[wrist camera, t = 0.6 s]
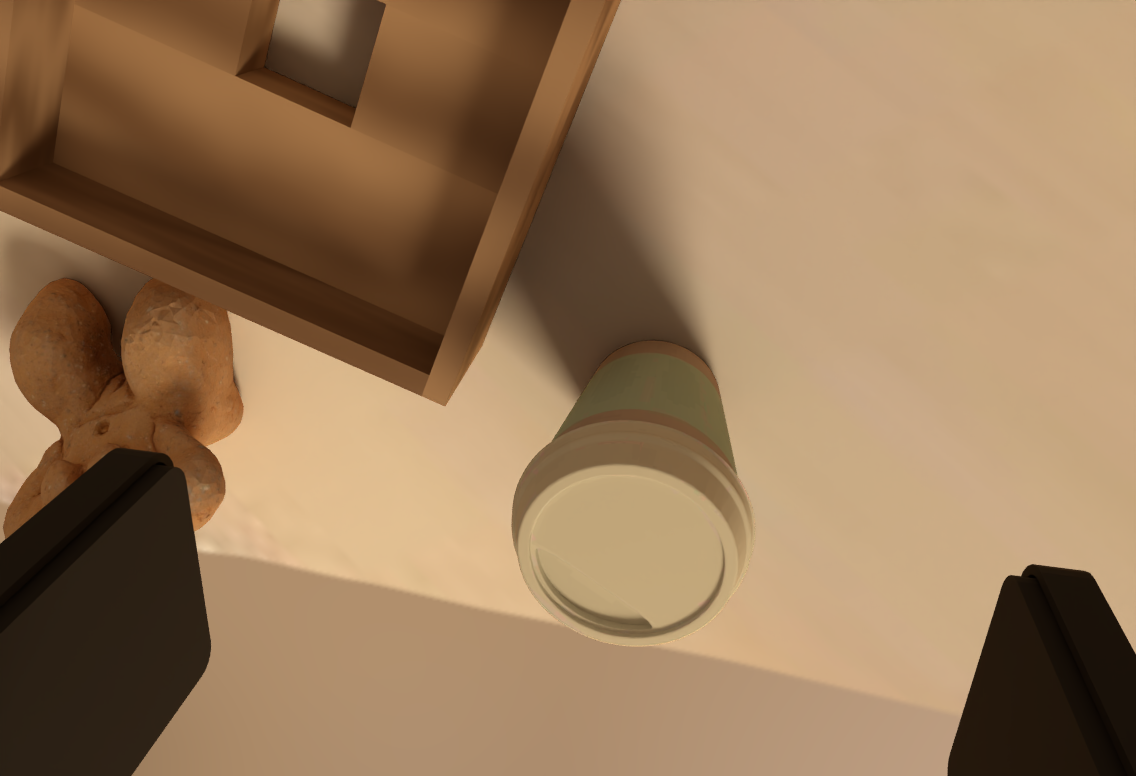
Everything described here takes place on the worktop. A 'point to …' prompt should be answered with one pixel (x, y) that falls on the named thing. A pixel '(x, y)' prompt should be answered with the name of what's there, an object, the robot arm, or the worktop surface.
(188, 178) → the bore box
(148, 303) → the figurine
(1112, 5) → the worktop surface
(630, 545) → the coffee cup
